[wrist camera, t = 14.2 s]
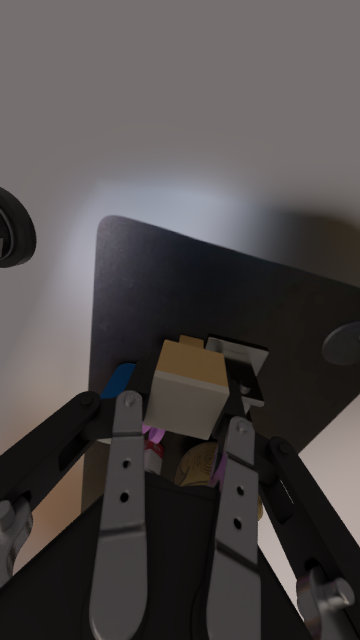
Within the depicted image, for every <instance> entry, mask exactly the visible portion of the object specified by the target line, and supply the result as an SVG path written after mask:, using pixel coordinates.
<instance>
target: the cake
mask: <svg viewBox="0 0 360 640" xmlns="http://www.w3.org/2000/svg"><path fill="white" fill-rule="evenodd" d="M179 343H181V344H185V345H189V346H193V347H197V348H201V349H203V340H200V339H196V338H192V337H188V336H184V335H180V339H179Z"/></svg>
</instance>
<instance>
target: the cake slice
mask: <svg viewBox="0 0 360 640" xmlns="http://www.w3.org/2000/svg"><path fill="white" fill-rule="evenodd" d="M228 396H229V388H228V381H227V375H226V368H225V362H224V356H223V354H222V353H218V352H213V351H209V350H205V349H201V348H197V347H193V346H189V345H185V344H181V343H177V342H173V341H169V340H165V341H164V344H163V347H162V351H161V354H160V357H159V360H158V363H157V367H156V370H155V373H154V377H153V381H152V386H151V393H150V398H149V402H148V407H147V411H146V416H145V419H144V423H143V425H146V426H150V427H154V428H158V429H163V430H167V431H171V432H175V433H179V434H183V435H188V436H192V437H196V438H200V439H204V440H208V439H209V436H210V434H211V432H212V430H213V428H214V426H215V423H216V421H217V419H218V417H219V415H220V413H221V411H222V409H223V407H224V405H225V403H226V401H227V399H228Z"/></svg>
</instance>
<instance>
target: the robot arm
mask: <svg viewBox="0 0 360 640" xmlns="http://www.w3.org/2000/svg"><path fill="white" fill-rule="evenodd" d="M16 245H17V235H16V231H15V228H14V225H13V223H12V221H11V219H10V217H9V215H8V214H7V213H6V211H5V210H4V209H3V208H2V207H1V206H0V260H4V259H7V258H9V257H10V256H11V255H12V254H13V253H14V251H15V249H16ZM159 357H160V354H156V353H151V355H150V358H149V359H145V358H141V359H140V360H139V361H137V363H136V365H135V368H134V370H133V372H132V374H131V376H130V378H129V381H128V383H127V385H126V387H125V389H124V391H123V392H122V393H120V394H119V395H118V396H116V397H113V398H100V396H99V395H98V394H97V393H95V392H92V391H86V392H82V393H80V394H78V395H76V396H75V397H74V398H73V399H71V400H70V401H69V402H68V403H66V404H65V405H64V406H63V407H61V408H60V409H59V410H57V411H56V412H55V413H54V414H53V415H51V416H50V417H49V418H47V419H46V420H45V421H44V422H42V423H41V424H40V425H39V426H37V427H36V428H35V429H33V430H32V431H31V432H30V433H29V434H27V435H26V436H25V437H23V438H22V439H21V440H20V441H18V442H17V443H16V444H15V445H13V446H12V447H11V448H9V449H8V450H7V451H6V452H4V453H3V454H2V455H1V456H0V640H360V547H359V545H358V544H357V542H356V541H355V539H354V538H353V536H352V535H351V534H350V532H349V531H348V529H347V527H346V526H345V524H344V523H343V521H342V520H341V519H340V517H339V516H338V514H337V512H336V511H335V510H334V508H333V507H332V505H331V504H330V502H329V501H328V499H327V498H326V496H325V495H324V493H323V492H322V490H321V489H320V487H319V486H318V484H317V483H316V481H315V480H314V478H313V477H312V475H311V474H310V472H309V471H308V469H307V468H306V466H305V465H304V463H303V462H302V460H301V459H300V457H299V456H298V454H297V453H296V451H295V450H294V448H293V447H292V446H291V445H290V444H289V443H288V442H287V441H286V440H284V439H283V438H280V437H272V438H271V439H270V440H269V439H267V438H265V437H263V436H261V435H260V434H258V433H256V432H255V431H254V428H253V426H252V424H251V423H250V422H249V421H248V420H247V419H246V414H245V410H244V405H243V401H242V396H241V392H240V387H239V386H238V384H237V383H236V381H235V380H231V378H230V373H229V371H226V375H227V381H228V388H229V396H228V399H227V401H226V403H225V405H224V407H223V409H222V411H221V413H220V415H219V417H218V419H217V421H216V423H215V426H214V428H213V430H212V438H213V439H217V440H218V445H217V447H216V450H215V454H214V459H213V464H212V468H211V473H210V478H209V482H208V485H207V486H204V485H192V486H177V485H176V484H174V483H172V482H170V481H169V480H167V479H165V478H163V477H162V476H160V475H158V474H153V473H149V472H145V471H144V434H143V433H142V421H143V422H144V419H145V416H146V411H147V407H148V402H149V398H150V393H151V386H152V381H153V377H154V373H155V370H156V367H157V363H158V360H159ZM109 438H111V444H110V452H109V459H108V467H107V475H106V482H105V490H104V493H103V494H102V495H101V496H100V497H99V498H98V499H97V500H96V501H95V502H93V503H92V504H91V505H90V506H89V507H88V508H87V509H86V510H85V511H84V512H82V513H81V514H80V515H79V516H78V517H77V518H76V519H75V520H74V521H73V522H72V523H70V524H69V525H68V526H67V527H66V528H65V529H64V530H63V531H62V532H61V533H60V534H58V536H56V537H55V538H54V539H53V540H52V541H51V542H50V543H49V544H48V545H46V546H45V547H44V548H43V549H42V550H41V551H40V552H39V553H38V554H37V555H35V556H34V557H33V558H32V559H31V560H30V561H29V562H28V563H27V564H26V565H24V567H22V568H21V569H20V570H19V571H18V572H17V573H16V574H15V575H14V576H13V566H14V562H15V559H16V557H17V554H18V553H19V551H20V549H21V547H22V546H23V544H24V543H25V542H26V540H27V538H28V537H29V535H30V532H31V530H32V526H33V516H32V511H33V510H34V509H35V508H36V507H37V506H38V505H39V504H40V502H41V501H42V500H43V499H44V498H45V497H46V496H47V494H48V493H49V492H50V491H51V490H52V489H53V488H54V487H55V485H56V484H57V483H58V482H59V481H60V480H61V479H62V478H63V476H64V475H65V474H66V473H67V472H68V471H69V470H70V468H71V467H72V466H73V465H74V464H75V463H76V462H77V461H78V460H79V459H80V457H81V456H82V455H83V454H84V453H85V452H86V451H87V450H88V448H89V447H90V446H91V445H92V444H93V443H94V442H95V440H100V439H109ZM281 481H282V482H281ZM282 483H283V484H282ZM283 485H284V486H283ZM284 487H285V488H284ZM286 490H287V491H286ZM287 492H288V493H287ZM258 494H259V496H260V498H261V501H262V503H263V505H264V507H265V510H266V512H267V514H268V516H269V519H270V520H271V523H272V525H273V528H274V529H275V532H276V534H277V537H278V538H279V541H280V543H281V545H282V548H283V550H284V552H285V555H286V557H287V559H288V561H289V564H290V566H291V568H292V570H293V572H294V574H295V577H296V579H297V582H296V593H297V606H298V609H299V612H300V614H301V615H302V617H303V618H304V622H303V620H302V618H301V617H300V615H299V613H298V612H297V610H296V608H295V606H294V605H293V603H292V602H291V600H290V598H289V596H288V595H287V593H286V591H285V590H284V588H283V586H282V585H281V583H280V581H279V580H278V578H277V576H276V574H275V573H274V571H273V569H272V568H271V566H270V564H269V563H268V561H267V559H266V558H265V556H264V555H263V553H262V551H261V549H260V548H259V546H258V544H257V540H258V539H257V538H258V537H257V536H258ZM288 494H289V495H288ZM289 496H290V497H289ZM290 498H291V499H290ZM292 501H293V502H292Z"/></svg>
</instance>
